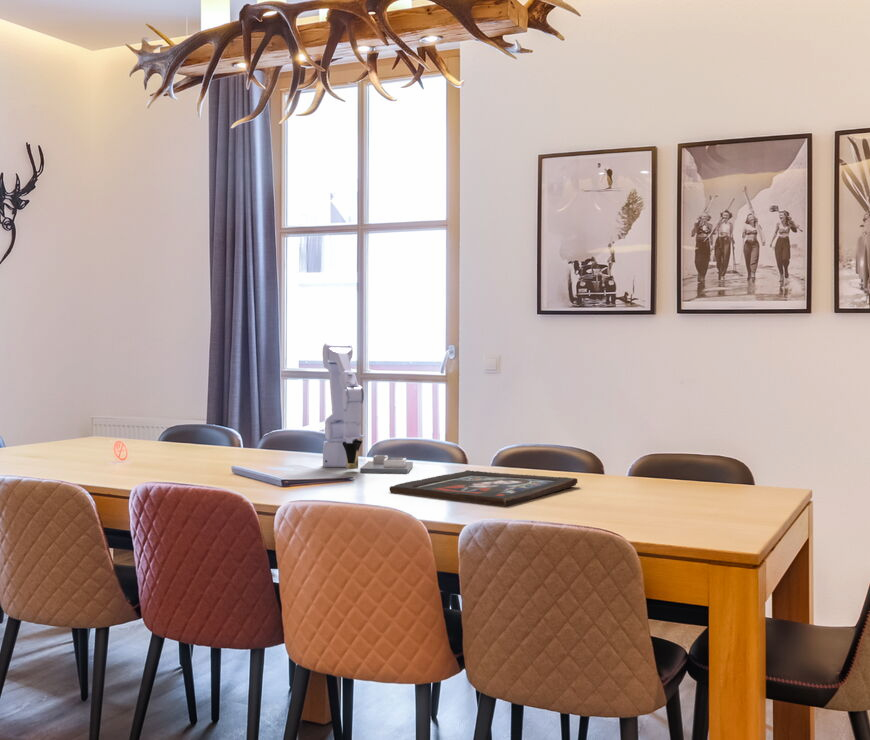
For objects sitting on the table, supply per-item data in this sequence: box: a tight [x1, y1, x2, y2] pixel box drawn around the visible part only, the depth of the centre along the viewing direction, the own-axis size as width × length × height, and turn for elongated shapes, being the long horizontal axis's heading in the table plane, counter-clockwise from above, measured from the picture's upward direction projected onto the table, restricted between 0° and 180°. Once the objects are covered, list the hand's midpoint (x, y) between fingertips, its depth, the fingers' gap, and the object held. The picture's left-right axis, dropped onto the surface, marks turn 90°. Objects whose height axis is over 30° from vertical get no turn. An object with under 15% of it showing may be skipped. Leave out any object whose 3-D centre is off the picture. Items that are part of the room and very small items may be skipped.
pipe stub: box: [345, 450, 359, 470], centre depth 296 cm, size 4×4×6 cm
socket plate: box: [359, 454, 414, 475], centre depth 303 cm, size 16×20×4 cm
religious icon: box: [389, 470, 578, 507], centre depth 259 cm, size 40×45×3 cm
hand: (352, 462), depth 296 cm, fingers closed on pipe stub, 4 cm apart
